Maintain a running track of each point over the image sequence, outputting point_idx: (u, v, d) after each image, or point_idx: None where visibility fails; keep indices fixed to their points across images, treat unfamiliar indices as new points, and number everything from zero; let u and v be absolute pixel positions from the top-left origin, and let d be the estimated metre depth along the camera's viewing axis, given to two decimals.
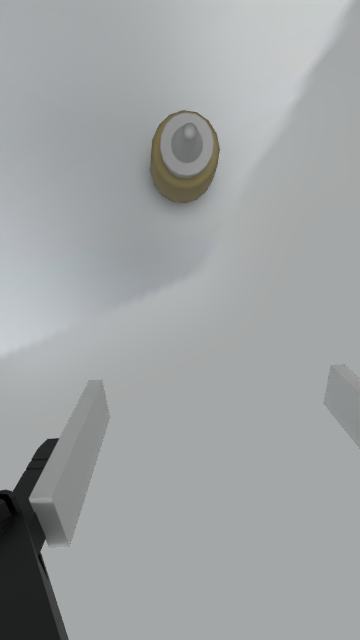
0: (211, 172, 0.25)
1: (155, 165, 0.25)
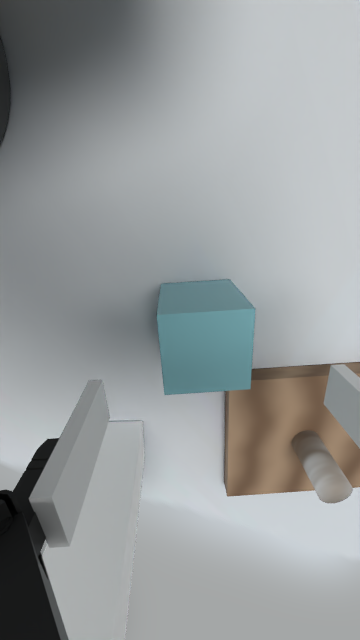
0: None
1: None
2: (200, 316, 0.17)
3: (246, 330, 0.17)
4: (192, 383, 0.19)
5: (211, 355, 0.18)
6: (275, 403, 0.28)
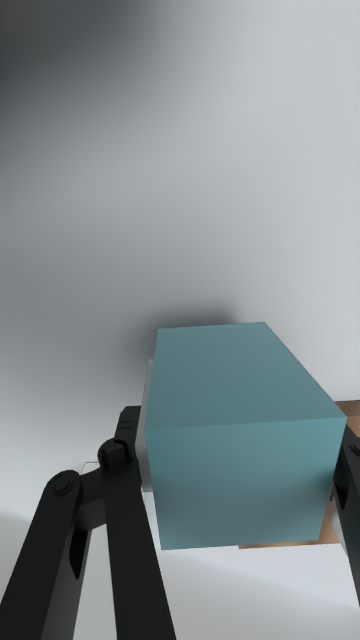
0: None
1: None
2: (234, 431, 0.08)
3: (323, 453, 0.09)
4: (212, 534, 0.10)
5: (251, 492, 0.09)
6: None
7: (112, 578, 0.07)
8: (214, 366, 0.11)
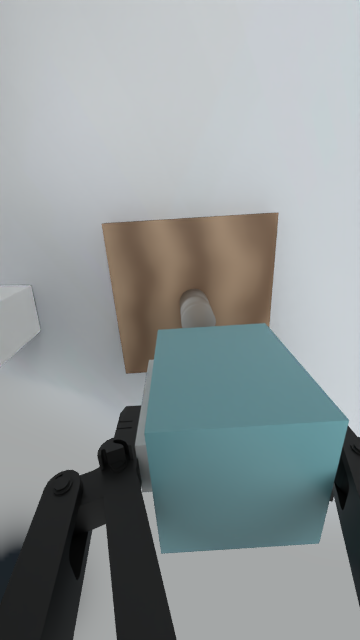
0: None
1: None
2: (234, 434, 0.08)
3: (325, 456, 0.09)
4: (213, 537, 0.10)
5: (251, 496, 0.09)
6: (153, 252, 0.27)
7: (112, 578, 0.07)
8: (214, 368, 0.11)
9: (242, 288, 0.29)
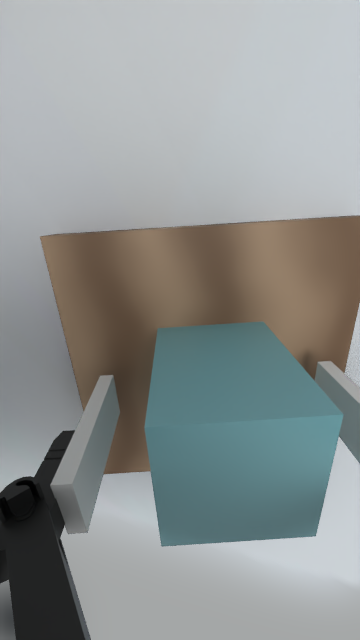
0: None
1: None
2: (232, 428, 0.08)
3: (320, 450, 0.09)
4: (212, 530, 0.10)
5: (249, 489, 0.10)
6: (140, 288, 0.15)
7: None
8: (213, 365, 0.12)
9: (298, 347, 0.17)
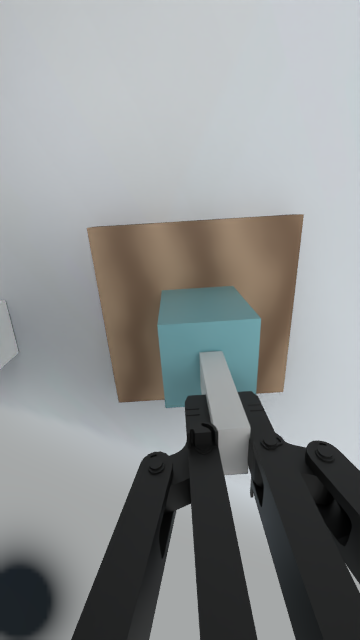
0: None
1: None
2: (203, 326, 0.16)
3: (251, 341, 0.17)
4: None
5: None
6: (151, 262, 0.22)
7: (195, 546, 0.07)
8: (196, 304, 0.19)
9: (257, 305, 0.24)
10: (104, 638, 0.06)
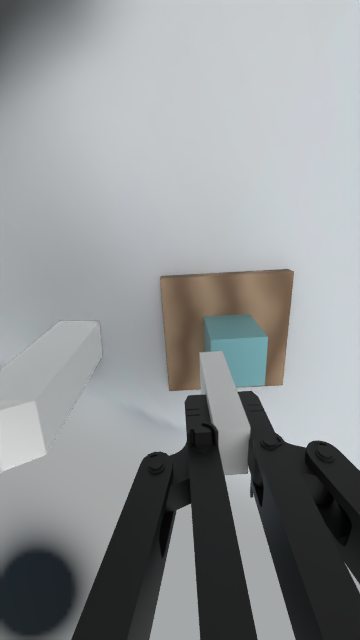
0: None
1: None
2: (235, 341, 0.29)
3: (262, 349, 0.30)
4: None
5: (241, 364, 0.30)
6: (198, 299, 0.36)
7: (195, 546, 0.07)
8: (229, 327, 0.32)
9: (265, 326, 0.37)
10: (104, 638, 0.06)
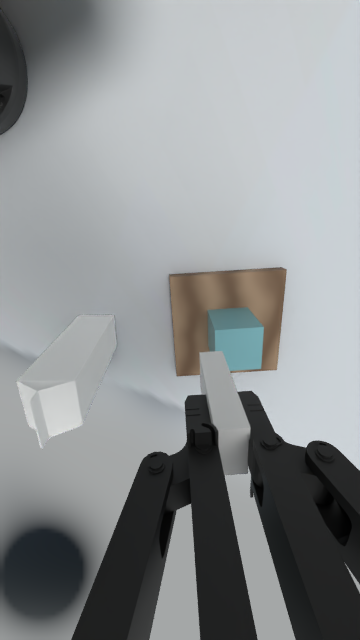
0: None
1: None
2: (236, 330, 0.34)
3: (259, 337, 0.35)
4: (230, 365, 0.36)
5: (241, 350, 0.35)
6: (202, 295, 0.41)
7: (195, 546, 0.07)
8: (230, 319, 0.37)
9: (261, 317, 0.42)
10: (104, 638, 0.06)
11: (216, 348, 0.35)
